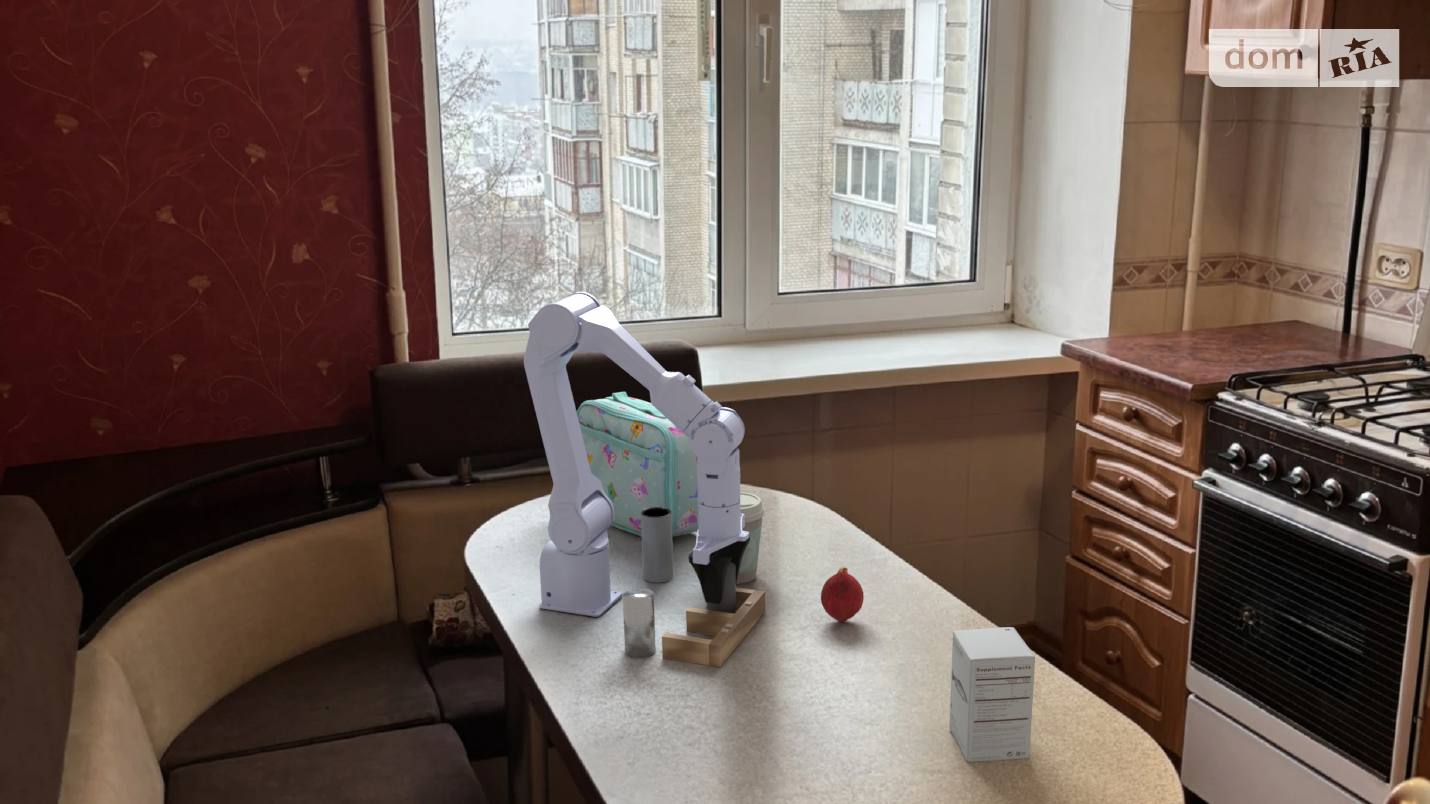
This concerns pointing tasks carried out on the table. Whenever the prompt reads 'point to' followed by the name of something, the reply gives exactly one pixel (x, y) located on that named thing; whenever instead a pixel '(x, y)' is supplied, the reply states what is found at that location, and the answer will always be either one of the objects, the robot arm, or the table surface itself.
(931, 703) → the table surface
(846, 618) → the onion
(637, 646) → the grey rod
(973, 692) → the supplement box
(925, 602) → the table surface
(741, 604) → the rack
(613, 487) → the lunch box
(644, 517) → the grey tubular piece
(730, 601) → the dark grey cylinder
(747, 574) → the coffee cup
